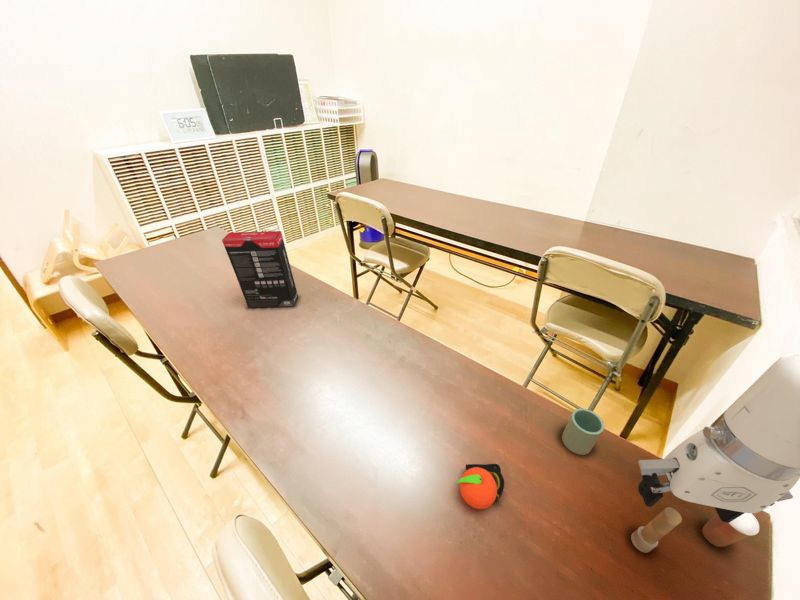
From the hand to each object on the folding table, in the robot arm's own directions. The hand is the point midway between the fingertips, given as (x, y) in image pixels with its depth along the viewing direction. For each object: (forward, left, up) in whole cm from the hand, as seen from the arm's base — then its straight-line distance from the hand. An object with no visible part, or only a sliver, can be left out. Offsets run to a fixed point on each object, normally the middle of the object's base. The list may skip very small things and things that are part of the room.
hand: (680, 503), depth 48 cm
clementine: (+20, +21, -16) cm, 33 cm away
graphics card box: (+106, +44, -16) cm, 115 cm away
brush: (0, 0, -15) cm, 15 cm away
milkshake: (-5, -12, -16) cm, 20 cm away
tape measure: (+21, +18, -16) cm, 31 cm away
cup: (+18, -6, -15) cm, 24 cm away
